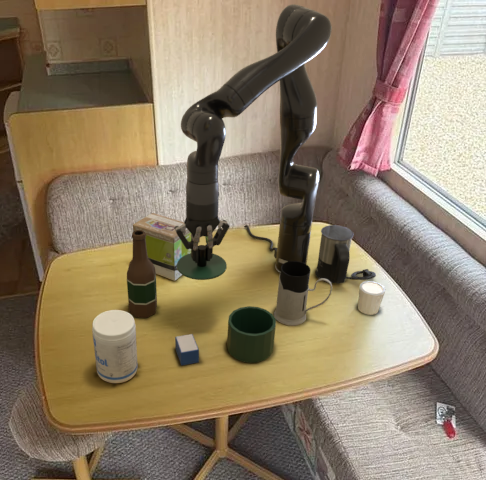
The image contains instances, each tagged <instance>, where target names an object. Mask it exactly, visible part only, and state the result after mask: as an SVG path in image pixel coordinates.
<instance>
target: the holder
mask: <svg viewBox="0 0 486 480" xmlns="http://www.w3.org/2000/svg"><path fill="white" fill-rule="evenodd" d="M310 275H311V267H310V266H309V265H308V264H307V265H306V264H305V263H302V262H299V261H289V262H285V263H284V264H282V266H281V272H280V274H279V277H278V285H277V296H276V304H275V309H274V311H273V316H274V317H275V319H276V322H279V323H280V324H283V325H286V326H299V325H302V324H303V323H305V322H306V320H307V312H308V311H310V310H313V309H316V308H318V307H320V306H322V305H324V304H325V303H326V302H327V301H328V300H329V298H330V297H331V295H332V290H333V283H331V282H330V281H329V280H327V279H324V278H321V279H319V278H317V280H316V281H315V282H314V286H313V288H310V285H309V284H310V277H311V276H310ZM322 280H324V281H326V282H325V283H328V284H329V286H330V290H329V293H328V295H327V296H326V298H325V299H324V300H323V301H321V302H320V303H318V304H315V305H313V306H309V308H307V303H308V295H309V292H314V291H315V290H316V288H317V284H319V282H321V281H322ZM324 281H323V282H324Z"/></svg>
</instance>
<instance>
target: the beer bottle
mask: <svg viewBox="0 0 486 480" xmlns="http://www.w3.org/2000/svg"><path fill="white" fill-rule="evenodd" d="M145 238H146V233H145V232H144V231H142V230H136V231H134V232H133V231H132V233H131V239H132V258H131V260H130V262H129V265H128V268H127V271H126V288H127V301H128V310H129V313H130V314H131V315H132V316H133V317H135V318H140V319H141V318H142V319H143V318H145V319H148V318H149V317H151V316H154V315H155V314H156V312H157V307H158V294H157V274H156V272H155V267H154V265H153V263H152V262H151V261H150V260H149V258H148V255H147V247H146V239H145Z"/></svg>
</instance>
